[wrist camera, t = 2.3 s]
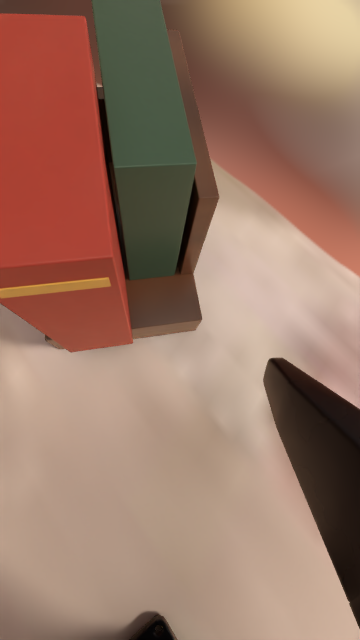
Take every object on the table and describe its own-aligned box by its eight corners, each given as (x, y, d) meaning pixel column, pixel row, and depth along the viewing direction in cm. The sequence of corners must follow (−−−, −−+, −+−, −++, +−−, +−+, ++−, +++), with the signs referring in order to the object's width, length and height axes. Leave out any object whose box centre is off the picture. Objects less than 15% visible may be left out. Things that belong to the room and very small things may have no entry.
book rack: (195, 330, 23) (236, 265, 12) (58, 349, 21) (-30, 294, 11) (166, 177, 27) (179, 29, 16) (49, 184, 25) (-22, 25, 15)
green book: (174, 275, 21) (197, 163, 11) (129, 280, 20) (113, 167, 11) (154, 163, 23) (159, -6, 14) (114, 165, 23) (90, -8, 13)
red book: (133, 344, 19) (113, 259, 8) (70, 353, 18) (-47, 274, 7) (116, 214, 21) (85, 14, 10) (61, 218, 21) (-34, 11, 10)
